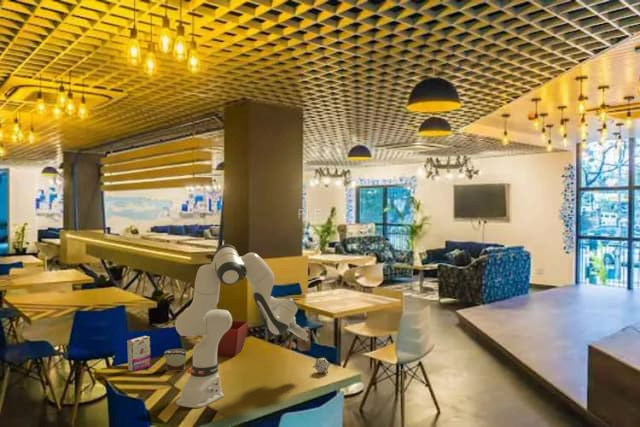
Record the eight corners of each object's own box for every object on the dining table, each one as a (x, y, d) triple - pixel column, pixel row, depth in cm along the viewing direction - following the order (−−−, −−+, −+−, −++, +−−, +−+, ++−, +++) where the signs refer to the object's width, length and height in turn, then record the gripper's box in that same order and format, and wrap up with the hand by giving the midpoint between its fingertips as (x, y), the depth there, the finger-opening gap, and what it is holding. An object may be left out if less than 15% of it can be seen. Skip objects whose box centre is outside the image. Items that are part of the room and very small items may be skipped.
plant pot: (237, 358, 287) (237, 329, 287) (206, 357, 291) (205, 328, 290) (249, 349, 306) (248, 321, 305) (219, 347, 310) (219, 320, 309)
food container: (190, 367, 274) (190, 348, 273) (186, 370, 267) (186, 352, 267) (168, 366, 275) (168, 348, 274) (164, 370, 269) (164, 351, 268)
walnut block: (301, 351, 253) (301, 331, 252) (297, 348, 257) (297, 328, 257) (310, 349, 255) (310, 330, 255) (306, 347, 260) (306, 327, 259)
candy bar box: (145, 364, 278) (145, 335, 278) (151, 366, 275) (150, 336, 275) (127, 370, 269) (126, 339, 269) (132, 372, 266) (132, 341, 266)
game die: (325, 380, 261) (330, 368, 255) (309, 375, 261) (315, 362, 255) (328, 367, 268) (334, 355, 263) (313, 361, 268) (318, 349, 263)
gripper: (299, 321, 243) (317, 338, 248) (283, 312, 262) (300, 328, 266) (290, 331, 241) (309, 349, 246) (275, 321, 260) (293, 338, 264)
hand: (304, 338), depth 256 cm, fingers closed on walnut block, 5 cm apart
